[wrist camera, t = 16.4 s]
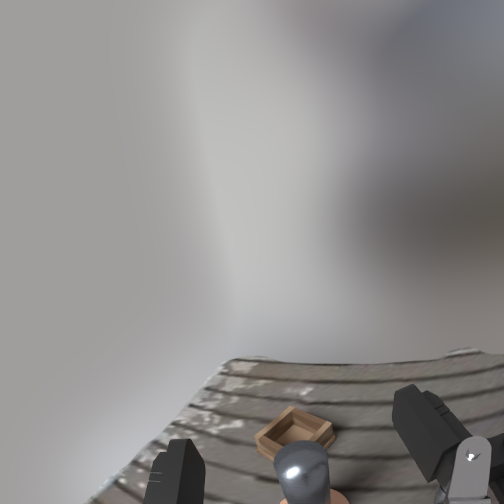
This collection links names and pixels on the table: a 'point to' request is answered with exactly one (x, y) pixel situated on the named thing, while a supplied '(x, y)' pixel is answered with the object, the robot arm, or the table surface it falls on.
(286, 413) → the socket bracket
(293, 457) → the rod
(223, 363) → the table surface
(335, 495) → the pad
